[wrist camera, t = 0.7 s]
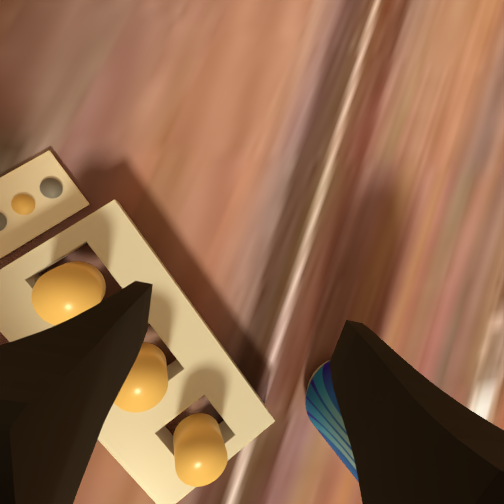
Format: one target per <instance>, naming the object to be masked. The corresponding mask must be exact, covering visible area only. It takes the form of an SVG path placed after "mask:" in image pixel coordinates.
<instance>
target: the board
mask: <svg viewBox="0 0 504 504" xmlns="http://www.w3.org/2000/svg"><path fill="white" fill-rule="evenodd" d="M86 243H88V244H89V246H90V247H91V248H92V250H93V251H94V252H95V254H96V255H97V256H98V257H99V259H100V260H101V261H102V263H103V264H104V265H105V266H106V268H107V269H108V270H109V272H110V273H111V274H112V276H113V277H114V278H115V279H116V281H117V282H118V283H119V285H120V286H121V287H122V289H123V288H124V287H126V286H128V285H129V284H131V283H132V282H134V281H140V282H145V283H150V284H153V286H152V294H151V302H150V310H149V318H148V324H150V325H151V326H152V327H153V329H154V330H155V331H156V333H157V334H158V335H159V337H160V338H161V339H162V340H163V342H164V343H165V344H166V346H167V347H168V348H169V349H170V351H171V352H172V353H173V355H174V356H175V357H176V360H175V361H173V362H172V363H171V364H169V365H168V366H167V375H168V388H167V391H166V394H165V395H164V397H163V399H162V400H161V401H160V402H159V403H158V404H157V405H156V406H154V407H153V408H151V409H149V410H147V411H143V412H136V413H134V412H127V411H124V410H122V409H120V408H119V407H118V406H116V405H115V404H114V403H113V405H112V407H111V409H110V411H109V413H108V415H107V418H106V420H105V422H104V424H103V427H102V429H101V432H100V434H99V437H98V440H99V441H100V442H101V443H102V444H103V446H104V447H105V448H106V449H107V450H108V451H109V452H110V453H111V454H112V455H113V457H114V458H115V459H116V460H117V461H118V462H119V463H120V464H121V465H122V467H123V468H124V469H125V470H126V471H127V472H128V473H129V474H130V475H131V476H132V478H133V479H134V480H135V481H136V482H137V483H138V484H139V485H140V486H141V487H142V489H143V490H144V491H145V492H146V493H147V494H148V495H149V496H150V497H151V498H152V500H153V501H154V502H155V503H156V504H176V503H177V502H178V501H179V500H181V499H182V498H183V497H184V496H186V495H187V494H188V493H189V492H190V491H192V490H193V489H194V488H195V487H194V486H189V485H187V484H185V483H183V482H182V481H181V480H180V479H179V478H178V476H177V473H176V469H175V458H174V446H173V435H172V434H171V433H170V431H169V430H168V429H167V428H166V427H165V425H166V424H167V423H168V422H170V421H171V420H172V419H174V418H175V417H176V416H177V415H179V414H180V413H181V412H183V411H184V410H185V409H187V408H188V407H189V406H190V405H192V404H193V403H194V402H196V401H197V400H198V399H199V398H201V397H202V396H203V395H205V396H206V397H207V399H208V400H209V401H210V403H211V404H212V405H213V407H214V408H215V409H216V410H217V412H218V413H219V414H220V416H221V417H222V418H223V419H224V421H222V422H221V423H220V424H219V428H220V431H221V434H222V437H223V441H224V444H225V447H226V450H227V455H228V459H227V461H228V460H229V459H230V458H231V457H232V456H234V455H235V454H236V453H237V452H238V451H240V450H241V449H242V448H243V447H245V446H246V445H247V444H248V443H249V442H251V441H252V440H253V439H254V438H255V437H257V436H258V435H259V434H260V433H261V432H263V431H264V430H265V429H266V428H267V427H269V426H270V425H271V424H272V423H273V422H275V420H274V419H273V417H272V415H271V414H270V412H269V410H268V409H267V407H266V406H265V404H264V403H263V401H262V400H261V398H260V397H259V396H258V394H257V393H256V391H255V390H254V389H253V387H252V386H251V385H250V383H249V382H248V380H247V379H246V378H245V376H244V375H243V373H242V372H241V371H240V369H239V368H238V367H237V365H236V364H235V362H234V361H233V360H232V358H231V357H230V355H229V354H228V353H227V351H226V350H225V349H224V347H223V346H222V344H221V343H220V342H219V340H218V339H217V337H216V336H215V335H214V333H213V332H212V331H211V329H210V328H209V326H208V325H207V324H206V322H205V321H204V319H203V318H202V317H201V315H200V314H199V313H198V311H197V310H196V308H195V307H194V306H193V304H192V303H191V301H190V300H189V299H188V297H187V296H186V295H185V293H184V292H183V290H182V289H181V288H180V286H179V285H178V283H177V282H176V281H175V279H174V278H173V276H172V275H171V274H170V272H169V271H168V270H167V268H166V267H165V265H164V264H163V263H162V261H161V260H160V258H159V257H158V256H157V254H156V253H155V252H154V250H153V249H152V247H151V246H150V245H149V243H148V242H147V240H146V239H145V238H144V236H143V235H142V234H141V232H140V231H139V229H138V228H137V227H136V225H135V224H134V222H133V221H132V220H131V218H130V217H129V216H128V214H127V213H126V211H125V210H124V209H123V207H122V206H121V204H120V203H119V202H118V201H116V200H115V199H114V200H113V201H111V202H109V203H108V204H106V205H105V206H103V207H101V208H100V209H98V210H96V211H95V212H93V213H92V214H90V215H88V216H87V217H85V218H83V219H82V220H80V221H78V222H77V223H75V224H74V225H72V226H70V227H69V228H67V229H65V230H64V231H62V232H61V233H59V234H57V235H56V236H54V237H52V238H51V239H49V240H47V241H46V242H44V243H43V244H41V245H39V246H38V247H36V248H34V249H33V250H31V251H30V252H28V253H26V254H25V255H23V256H21V257H20V258H18V259H16V260H15V261H13V262H12V263H10V264H8V265H7V266H5V267H3V268H2V269H0V332H1V333H2V334H3V335H4V336H5V338H6V339H7V340H8V341H9V342H12V341H15V340H18V339H21V338H24V337H26V336H29V335H32V334H35V333H38V332H41V331H43V330H46V329H48V328H50V327H53V326H55V325H52V324H50V323H48V322H46V321H44V320H43V319H42V318H41V317H40V316H39V315H38V314H37V313H36V311H35V309H34V307H33V305H32V297H31V296H32V290H33V287H34V285H35V283H36V282H37V280H38V279H39V278H40V277H41V276H40V275H39V273H40V272H42V271H43V270H45V269H47V268H48V267H50V266H51V265H53V264H55V263H56V262H58V261H59V260H61V259H63V258H64V257H66V256H67V255H69V254H70V253H72V252H74V251H75V250H77V249H78V248H80V247H82V246H83V245H85V244H86Z"/></svg>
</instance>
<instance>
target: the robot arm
mask: <svg viewBox="0 0 504 504" xmlns="http://www.w3.org/2000/svg"><path fill="white" fill-rule="evenodd" d="M152 286H153V284H150V283H145V282H140V281H134V282H132V283H131V284H129V285H128V286H126V287H124V288H123V289H121V290H120V291H118V292H117V293H115V294H113V295H112V296H110V297H109V298H107V299H105V300H104V301H102V302H100V303H99V304H97V305H95V306H94V307H92V308H90V309H88V310H86V311H84V312H82V313H80V314H79V315H77V316H75V317H73V318H71V319H69V320H67V321H64V322H62V323H60V324H58V325H55V326H53V327H50V328H48V329H46V330H43V331H41V332H38V333H35V334H32V335H29V336H26V337H24V338H21V339H18V340H15V341H12V342H9V343H6V344H3V345H0V504H73V502H74V499H75V496H76V494H77V491H78V488H79V486H80V483H81V480H82V478H83V475H84V473H85V470H86V467H87V465H88V462H89V459H90V457H91V454H92V452H93V449H94V447H95V444H96V442H97V439H98V437H99V434H100V432H101V429H102V427H103V424H104V422H105V420H106V418H107V415H108V413H109V411H110V409H111V407H112V405H113V403H114V401H115V399H116V397H117V396H118V394H119V392H120V390H121V388H122V386H123V384H124V382H125V380H126V378H127V376H128V374H129V372H130V370H131V368H132V366H133V364H134V362H135V361H136V359H137V357H138V354H139V352H140V349H141V346H142V343H143V341H144V338H145V335H146V332H147V326H148V318H149V310H150V302H151V294H152ZM330 371H331V378H332V383H333V389H334V392H335V396H336V399H337V403H338V406H339V409H340V413H341V416H342V419H343V422H344V426H345V429H346V432H347V435H348V439H349V442H350V445H351V449H352V453H353V457H354V460H355V465H356V470H357V476H358V481H359V486H360V491H361V497H362V502H363V504H504V430H502V429H500V428H498V427H497V426H495V425H493V424H492V423H490V422H488V421H487V420H485V419H484V418H482V417H480V416H479V415H477V414H476V413H474V412H472V411H471V410H469V409H468V408H466V407H465V406H463V405H462V404H460V403H459V402H457V401H456V400H455V399H453V398H452V397H450V396H449V395H448V394H446V393H445V392H443V391H442V390H441V389H439V388H438V387H437V386H435V385H434V384H433V383H431V382H430V381H429V380H428V379H426V378H425V377H424V376H423V375H422V374H420V373H419V372H418V371H417V370H415V369H414V368H413V367H412V366H411V365H410V364H408V363H407V362H406V361H405V360H404V359H403V358H401V357H400V356H399V355H398V354H397V353H396V352H395V351H394V350H393V349H391V348H390V347H389V346H388V345H387V344H386V343H385V342H384V341H383V340H381V339H380V338H379V337H378V336H377V335H376V334H375V333H374V332H372V331H371V330H370V329H369V328H368V327H366V326H365V325H364V324H362V323H358V322H353V321H348V320H346V323H345V325H344V328H343V330H342V333H341V335H340V338H339V340H338V343H337V345H336V348H335V350H334V353H333V355H332V358H331V360H330Z"/></svg>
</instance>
